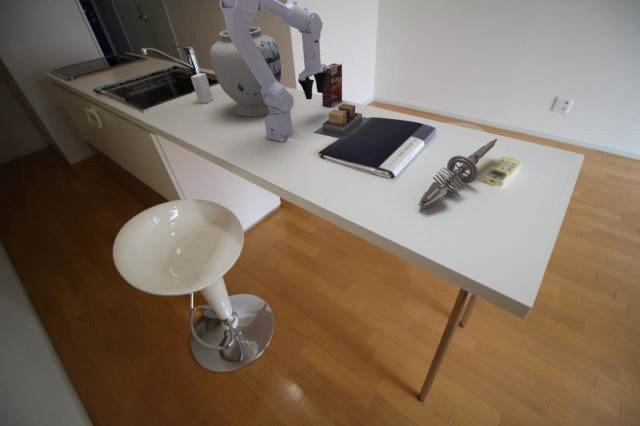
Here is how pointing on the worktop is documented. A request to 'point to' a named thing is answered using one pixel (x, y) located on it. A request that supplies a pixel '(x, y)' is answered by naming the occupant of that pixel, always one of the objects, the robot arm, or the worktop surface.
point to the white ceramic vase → (244, 71)
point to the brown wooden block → (348, 110)
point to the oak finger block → (337, 117)
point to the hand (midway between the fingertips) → (314, 95)
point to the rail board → (342, 127)
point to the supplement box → (332, 86)
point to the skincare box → (202, 88)
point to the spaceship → (454, 176)
